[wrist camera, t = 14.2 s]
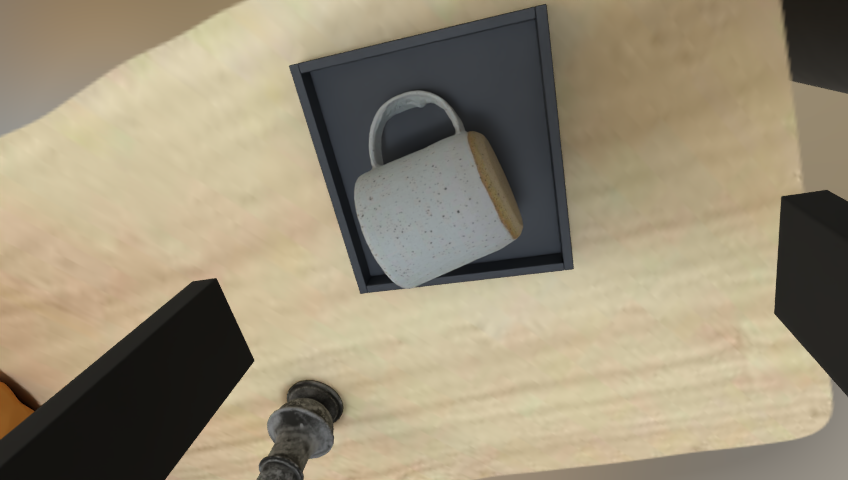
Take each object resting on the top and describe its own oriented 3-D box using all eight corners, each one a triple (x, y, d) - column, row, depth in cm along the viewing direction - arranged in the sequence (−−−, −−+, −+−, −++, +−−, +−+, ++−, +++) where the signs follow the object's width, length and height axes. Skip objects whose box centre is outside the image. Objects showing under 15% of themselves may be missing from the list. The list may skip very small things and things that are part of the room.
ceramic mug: (528, 211, 31) (534, 262, 25) (422, 255, 34) (401, 314, 27) (456, 61, 28) (441, 73, 21) (346, 123, 31) (300, 151, 24)
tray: (543, 4, 27) (546, 3, 25) (570, 255, 33) (573, 269, 31) (301, 62, 30) (288, 65, 28) (367, 280, 36) (360, 294, 35)
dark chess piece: (318, 435, 45) (259, 567, 34) (272, 396, 44) (196, 521, 33) (359, 409, 42) (310, 541, 32) (311, 367, 41) (244, 490, 30)
